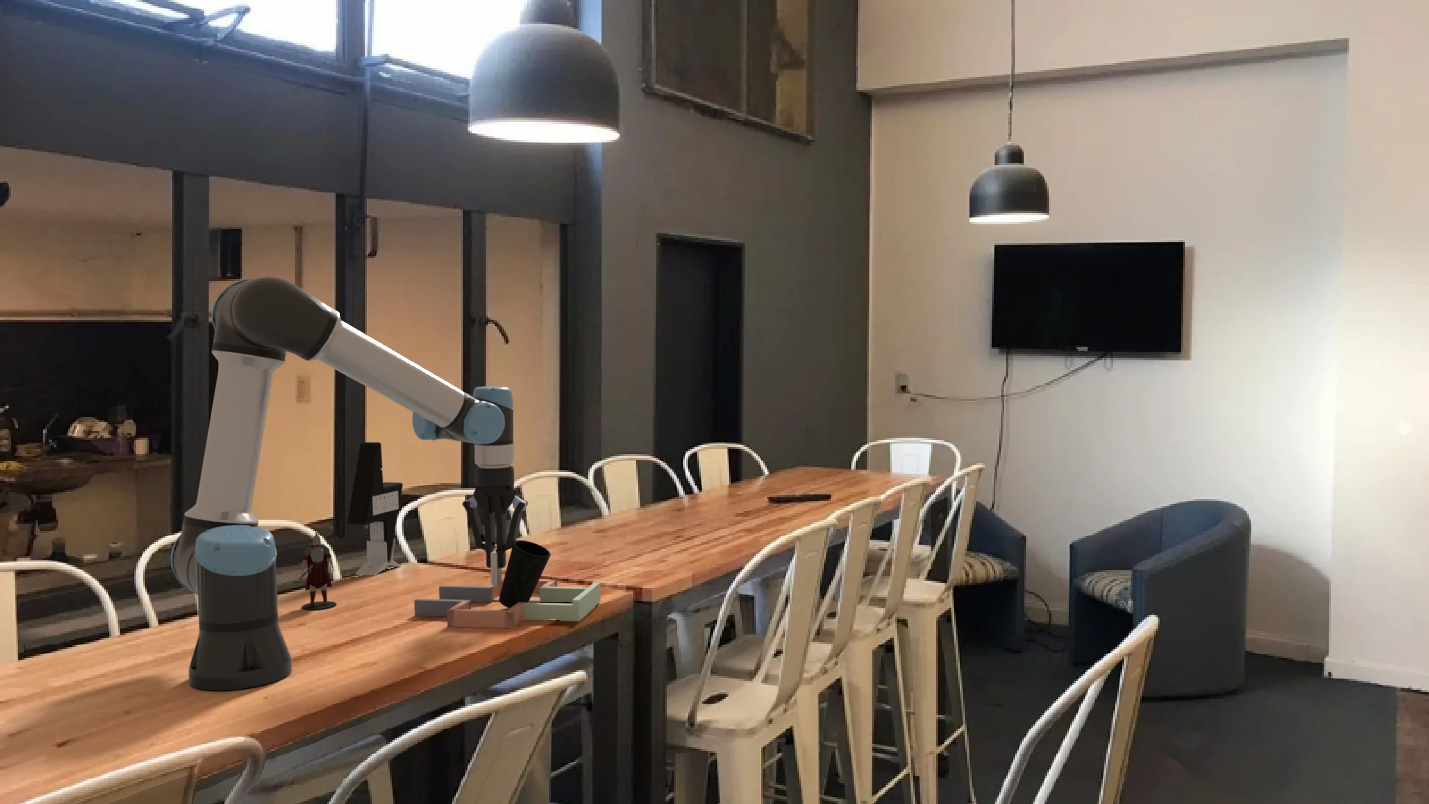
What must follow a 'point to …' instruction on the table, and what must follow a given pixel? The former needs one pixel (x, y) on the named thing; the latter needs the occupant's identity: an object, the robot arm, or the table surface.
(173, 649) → the table surface
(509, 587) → the cup
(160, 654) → the table surface
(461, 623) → the track
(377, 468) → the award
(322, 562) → the figurine
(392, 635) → the table surface
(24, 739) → the table surface
